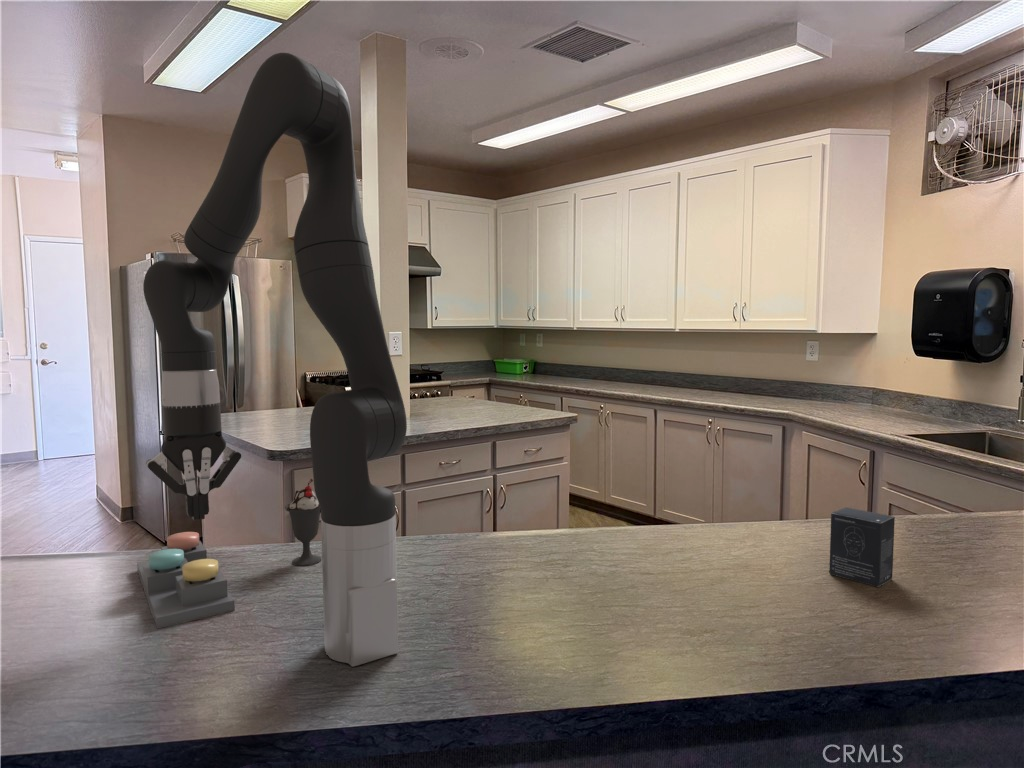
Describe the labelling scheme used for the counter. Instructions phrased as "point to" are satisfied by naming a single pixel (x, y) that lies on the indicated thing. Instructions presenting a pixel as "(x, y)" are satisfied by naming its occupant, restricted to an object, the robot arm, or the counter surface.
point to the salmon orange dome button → (183, 541)
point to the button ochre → (200, 570)
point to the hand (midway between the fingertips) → (198, 518)
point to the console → (183, 592)
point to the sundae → (305, 523)
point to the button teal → (166, 559)
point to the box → (862, 546)
